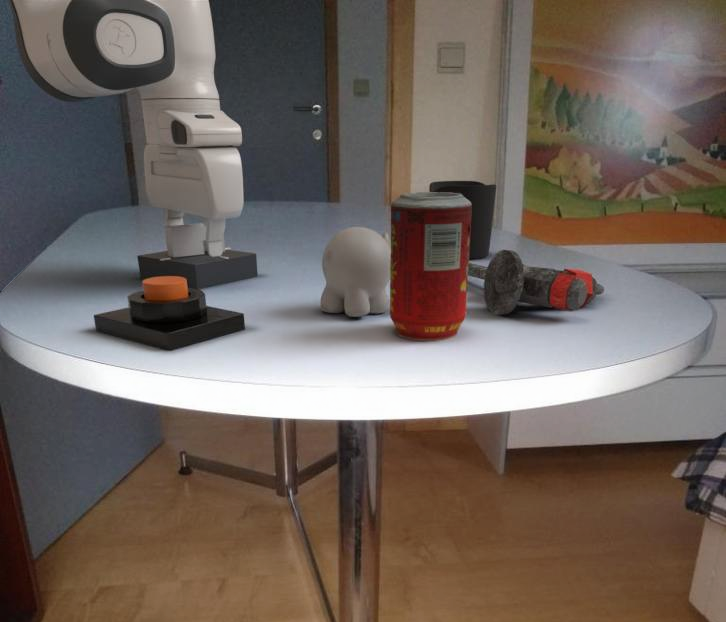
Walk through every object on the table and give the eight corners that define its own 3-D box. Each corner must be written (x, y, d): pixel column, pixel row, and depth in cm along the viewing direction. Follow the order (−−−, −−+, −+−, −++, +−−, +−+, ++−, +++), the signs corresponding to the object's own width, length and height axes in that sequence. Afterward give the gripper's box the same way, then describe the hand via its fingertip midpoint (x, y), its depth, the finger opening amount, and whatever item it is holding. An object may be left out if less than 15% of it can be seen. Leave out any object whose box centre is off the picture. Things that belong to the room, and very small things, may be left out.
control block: (96, 332, 69) (89, 295, 67) (171, 314, 75) (167, 280, 73) (170, 352, 63) (165, 312, 61) (245, 331, 69) (242, 294, 67)
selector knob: (173, 257, 88) (169, 225, 87) (167, 256, 89) (163, 224, 88) (225, 252, 92) (222, 221, 90) (218, 250, 93) (216, 219, 92)
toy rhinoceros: (437, 305, 78) (440, 222, 74) (355, 325, 71) (354, 234, 67) (390, 295, 83) (391, 217, 79) (309, 312, 75) (305, 227, 72)
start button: (135, 300, 67) (133, 281, 66) (170, 292, 70) (167, 274, 69) (163, 306, 65) (160, 286, 64) (197, 298, 68) (195, 279, 67)
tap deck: (136, 280, 91) (132, 254, 90) (204, 267, 99) (201, 243, 98) (194, 291, 85) (191, 264, 84) (261, 276, 93) (260, 251, 92)
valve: (649, 334, 74) (524, 326, 68) (516, 295, 96) (414, 286, 90) (666, 270, 71) (538, 256, 66) (525, 245, 94) (421, 233, 88)
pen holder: (498, 253, 108) (504, 181, 104) (480, 263, 101) (485, 186, 96) (439, 249, 112) (442, 180, 107) (417, 259, 104) (419, 184, 100)
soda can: (480, 337, 66) (489, 194, 61) (414, 348, 63) (417, 199, 58) (438, 321, 72) (443, 189, 66) (376, 330, 69) (375, 193, 64)
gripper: (125, 128, 90) (141, 243, 96) (196, 128, 75) (209, 264, 82) (172, 127, 93) (184, 239, 100) (249, 128, 79) (258, 258, 85)
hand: (196, 250), depth 91 cm, fingers open, 8 cm apart
